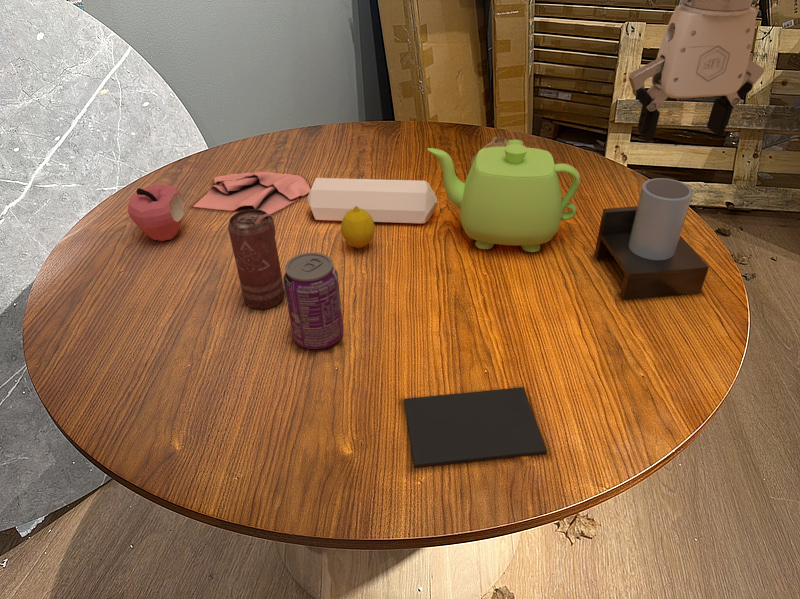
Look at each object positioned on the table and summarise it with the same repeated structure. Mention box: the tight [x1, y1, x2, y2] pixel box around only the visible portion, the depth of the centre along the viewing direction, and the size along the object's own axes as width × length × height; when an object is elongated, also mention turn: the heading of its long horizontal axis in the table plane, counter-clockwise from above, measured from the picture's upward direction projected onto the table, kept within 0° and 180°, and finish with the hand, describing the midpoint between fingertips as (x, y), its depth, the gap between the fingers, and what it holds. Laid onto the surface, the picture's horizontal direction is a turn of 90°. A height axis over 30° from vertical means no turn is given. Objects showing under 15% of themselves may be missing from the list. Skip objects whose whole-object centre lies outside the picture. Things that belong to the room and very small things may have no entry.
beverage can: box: [282, 252, 344, 350], centre depth 83 cm, size 7×7×12 cm
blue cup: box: [628, 177, 694, 260], centre depth 91 cm, size 7×7×10 cm
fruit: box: [340, 206, 376, 249], centre depth 102 cm, size 6×6×8 cm
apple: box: [127, 183, 185, 242], centre depth 106 cm, size 10×9×10 cm
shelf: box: [593, 205, 710, 301], centre depth 94 cm, size 12×12×9 cm
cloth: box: [192, 171, 311, 215], centre depth 121 cm, size 20×22×2 cm
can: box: [227, 209, 286, 310], centre depth 90 cm, size 6×6×14 cm
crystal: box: [306, 177, 439, 224], centre depth 112 cm, size 7×7×24 cm
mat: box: [403, 386, 548, 469], centre depth 73 cm, size 15×10×1 cm, turn 96°
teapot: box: [427, 139, 581, 253], centre depth 105 cm, size 25×22×16 cm
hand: (680, 134), depth 83 cm, fingers open, 9 cm apart
